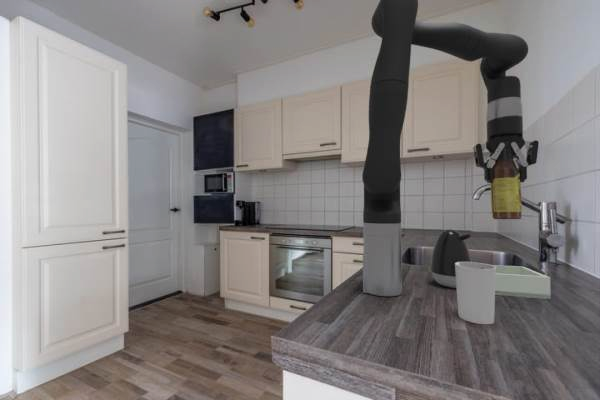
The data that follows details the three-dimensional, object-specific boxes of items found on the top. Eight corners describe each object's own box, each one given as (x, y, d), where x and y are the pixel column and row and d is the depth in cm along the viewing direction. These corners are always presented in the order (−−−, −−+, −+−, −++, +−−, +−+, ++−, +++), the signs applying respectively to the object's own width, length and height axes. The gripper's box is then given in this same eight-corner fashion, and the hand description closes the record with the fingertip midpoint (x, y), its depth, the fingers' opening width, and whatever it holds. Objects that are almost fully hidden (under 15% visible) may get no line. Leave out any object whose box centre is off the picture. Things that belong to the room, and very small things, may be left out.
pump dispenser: (460, 293, 66) (458, 231, 67) (422, 283, 75) (421, 228, 76) (482, 287, 71) (481, 229, 72) (444, 278, 80) (443, 227, 81)
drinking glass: (471, 309, 56) (470, 260, 56) (506, 322, 49) (504, 267, 50) (447, 313, 53) (446, 263, 54) (480, 327, 47) (479, 270, 47)
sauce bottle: (527, 220, 66) (526, 139, 67) (499, 219, 67) (497, 141, 68) (512, 219, 72) (510, 145, 73) (486, 218, 74) (485, 146, 74)
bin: (490, 294, 65) (489, 273, 65) (473, 281, 77) (473, 263, 77) (550, 299, 62) (550, 277, 62) (524, 285, 73) (523, 266, 73)
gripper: (477, 117, 69) (478, 181, 69) (545, 111, 65) (547, 180, 64) (468, 125, 76) (469, 184, 76) (529, 121, 72) (530, 183, 72)
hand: (505, 182), depth 70 cm, fingers closed on sauce bottle, 6 cm apart
